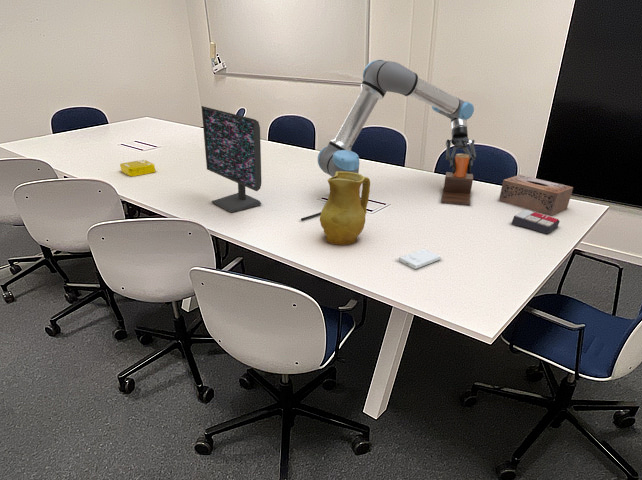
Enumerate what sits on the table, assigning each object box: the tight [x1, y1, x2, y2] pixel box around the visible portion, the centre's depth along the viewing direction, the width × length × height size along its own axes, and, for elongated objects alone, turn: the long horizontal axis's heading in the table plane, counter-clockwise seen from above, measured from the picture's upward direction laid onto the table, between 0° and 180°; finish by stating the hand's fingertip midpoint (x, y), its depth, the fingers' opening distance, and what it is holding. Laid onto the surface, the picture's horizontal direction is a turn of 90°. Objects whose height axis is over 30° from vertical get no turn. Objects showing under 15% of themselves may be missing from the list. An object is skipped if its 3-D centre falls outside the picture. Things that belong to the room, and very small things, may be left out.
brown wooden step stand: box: [440, 171, 474, 207], centre depth 215 cm, size 24×13×8 cm, turn 164°
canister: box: [452, 153, 470, 177], centre depth 216 cm, size 7×7×10 cm
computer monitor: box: [201, 105, 262, 214], centre depth 196 cm, size 44×16×40 cm, turn 40°
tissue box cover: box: [498, 174, 574, 217], centre depth 205 cm, size 26×14×10 cm, turn 39°
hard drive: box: [398, 248, 442, 270], centre depth 157 cm, size 2×8×12 cm
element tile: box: [119, 159, 156, 177], centre depth 251 cm, size 15×15×5 cm
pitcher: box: [319, 171, 371, 246], centre depth 167 cm, size 17×19×25 cm
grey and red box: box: [511, 209, 561, 235], centre depth 184 cm, size 11×4×15 cm
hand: (461, 172), depth 215 cm, fingers closed on canister, 7 cm apart
